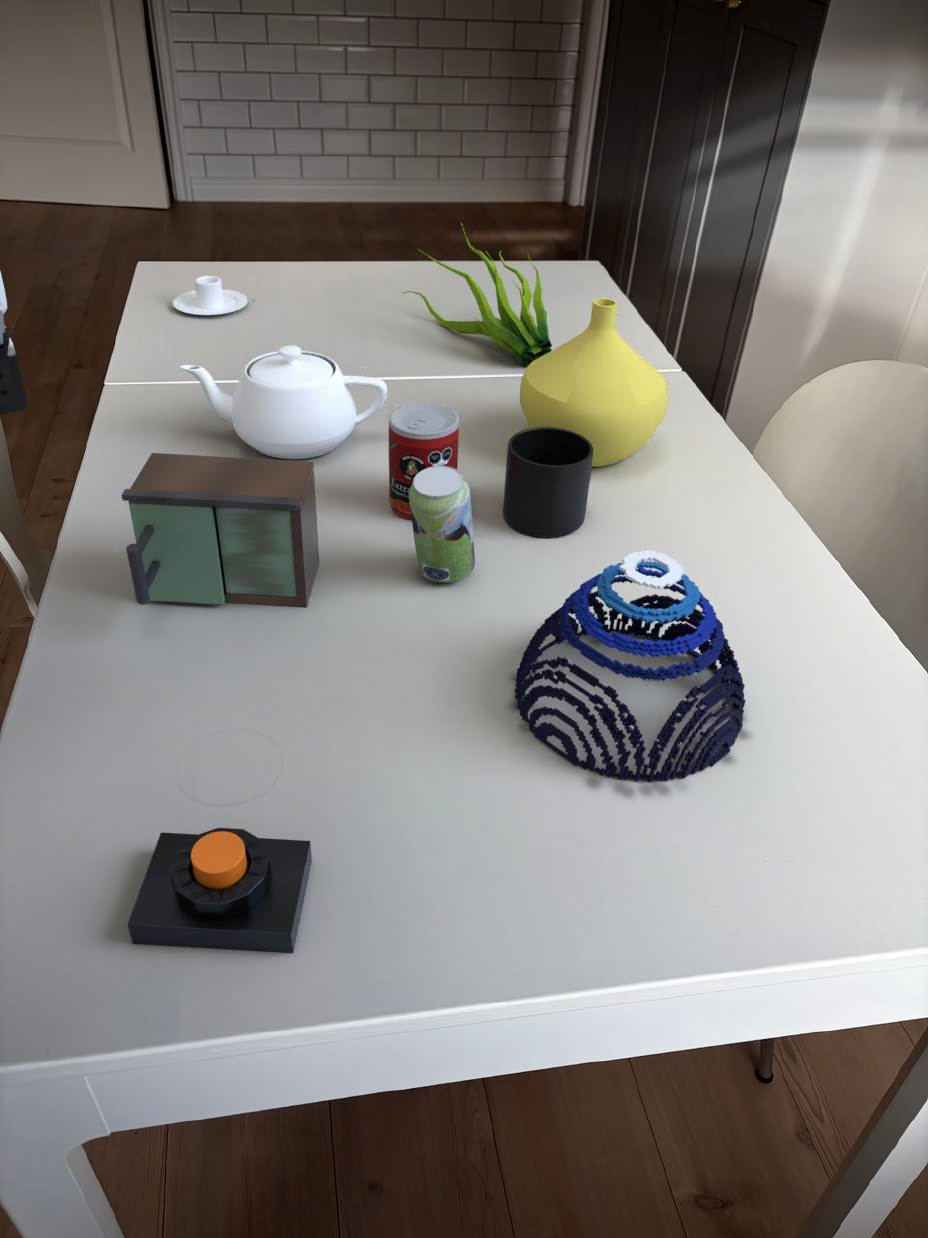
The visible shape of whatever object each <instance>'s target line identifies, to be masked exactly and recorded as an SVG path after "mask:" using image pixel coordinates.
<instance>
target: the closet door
mask: <svg viewBox="0 0 928 1238" xmlns="http://www.w3.org/2000/svg"><path fill="white" fill-rule="evenodd" d="M128 507H129V512H130V518H131V524H132V528H133V533H134V538H135V543H131V544H128V545H126V546H125V550H126V554H127V561H128V565H129V571H130V576H131V579H132V580H131V581H132V587H133V590H134V596H135V600H136V603H137V604H138V605H140V606H141V605H143V606H144V605H147V604H149V603H150V602H151V601H154V602H171V603H187V604H188V603H189V604H207V605H225V597H224V589H223V581H222V574H221V566H220V559H219V551H218V543H217V536H216V528H215V521H214V513H213V506H212V505H195V504H177V503H159V502H141V501H130V502H128Z"/></svg>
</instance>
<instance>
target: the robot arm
mask: <svg viewBox="0 0 928 1238" xmlns="http://www.w3.org/2000/svg"><path fill="white" fill-rule="evenodd" d="M7 310H8V301H7V296H6V289H5V286H4V282H3V277H2V272H1V271H0V416H4V415H9V414H13V413H16V412H21V411H24V410H26V409H28V407H29V401H28V396H27V393H26V388H25V385H24V381H23V377H22V372H21V368H20V364H19V361H18V357H17V353H16V350H15V346H14V343H13V340H12V339H11V337H12V336H11V334H9V332H10V330H9V328H7V326H6V325H5V317H4V316H5V313H6V312H7Z"/></svg>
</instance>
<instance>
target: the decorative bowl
mask: <svg viewBox="0 0 928 1238" xmlns="http://www.w3.org/2000/svg"><path fill="white" fill-rule="evenodd" d="M652 569H654V570H652ZM655 569H656V570H655ZM626 582H628V583H630V584H633V583H634V584H636V585H638V586H640V587H642V586H645V588H653V589H654V590H657V589H659V590H662V589H664V590H667V589H668V590H670V591H671V592H673V593H679V594H681V595H683V596H684V597H682V598H681V599H679V598H673V597H672V596H670V595H658V594H656V593H655V594H652V595H649V594H646V595H644V596H641V597H638V598H636V599H633V600H631V601H629V603H628V602H626V601H625V600H624V598H623V597H622V596H619V592H617V591H615V590H613V585H614V584H616V583H617V584H619V583H622V584H625V583H626ZM594 588H597V589H596V591H594V592H592V590H593V589H594ZM597 598H599V599H600V600H601V601H600V600H599V599H597ZM604 606H605V607H607V608H608V609H609V611H606V610H605V609H603V608H604ZM697 606H699V607H700V609H701V610H699V609H697ZM591 608H592V610H593V612H591V610H590V609H591ZM570 614H571V615H570ZM572 615H574V617H575V618H574V617H572ZM607 615H608V616H607ZM618 615H621V618H620V617H619V616H618ZM577 621H578V622H577ZM606 621H609V622H610V623H609V624H608V623H606ZM615 621H616V624H615ZM629 621H631V624H629ZM643 622H644V623H643ZM674 622H676V623H674ZM652 624H654V625H653V627H652V628H651V626H652ZM666 624H670V625H669V626H667V628H666V629H664V632H663V633H662V634H661V636H660V631H661V628H663V627H664V625H666ZM626 626H627V629H626ZM614 627H615V628H614ZM579 628H580V629H581V630H580V631H579ZM533 634H534V635H532V637H531V639H530V640H529V643H528V644H527V645H526V649H525V650H524V652H523V653H522V657H521V660H520V662H519V667H518V668H516V677H515V678H514V679H515V689H514V691H513V692H514V693H515V695H514V698H515V699H516V706H517V707H516V708H517V709H519V716H521V720H522V721H524V722H525V723H526V724H528V731H530V732H531V733H532V734H533V737H534V738H535V739H537V740H538V741H539V742H541V743H542V744H544V745H545V746H546V747H548V748H549V749H550V750H552V751H554V752H555V753H556V754H558V755H559V756H561V757H562V758H563V759H564V760H566V761H567V762H569V763H570V764H572V765H573V766H575V767H578V766H579V767H580V768H581V769H583V770H584V771H586V770H589V771H590V772H592V773H593V772H595V773H598V775H600V776H604V775H605V776H606V777H607V778H610V777H611V778H615V777H616V778H617V779H619V780H620V781H621V780H624V781H625V780H629V781H631V780H633V781H634V782H636V783H637V782H639V781H640V780H642V781H643V782H644V781H645V780H646V781H648V782H649V783H652V782H653V781H656V782H658V781H661V782H663V781H665V782H667V781H669V780H672V781H673V780H674V779H676V778H677V779H683V780H684V779H685V778H687V777H688V776H690V774H693V775H695V774H697V772H699V771H701V772H703V771H705V770H706V768H708V767H709V766H710V767H714V766H715V765H716V764H717V763H719V761H721V760H722V759H723V758H724V757H726V756H727V755H728V754H729V753H730V752H731V748H732V747H733V746H734V744H735V743H736V740H737V738H738V735H739V733H740V732H741V731H742V729H743V725H744V723H743V721H744V712H745V709H744V707H745V704H746V699H745V693H744V689H745V686H746V685H745V683H744V681H743V677H742V673H741V672H740V667H739V663H738V660H737V659H735V651H734V650H733V649H731V646H730V645H729V644H730V643H729V639H727V638H726V635H725V634H724V626H723V623H722V622H721V620H720V619H718V617H717V612H715V609H714V606H713V604H711V602H710V600H709V599H708V598H706V597H705V596H704V594H703V593H702V592H701V591H700V589H699V586H698V585H696V582H694V581H693V580H690V577H689V576H688V575H687V574H685V568H684V566H683V565H681V564H680V563H678V560H676V559H674V558H673V557H671V556H668V555H666V554H664V553H663V552H660V553H658V552H657V551H655V550H653V549H651V550H649V549H646V550H645V551H642V550H640V551H637V552H636V551H633V552H631V553H630V554H628V555H626V556H625V557H623V558H621V562H618V563H616V564H615V565H613V564H610V565H608V566H606V567H605V568H603V571H602V572H601V573H598V574H597V575H595V576H593V577H591V578H589V579H588V580H586V581H585V582H583V583H581V584H580V585H579V588H578V589H576V590H575V591H573V592H571V593H570V595H569V596H568V597H566V598H565V600H564V602H563V604H562V606H560V607H559V608H558V609H557V610H555V611H554V612H553V613H551V614H550V616H549V617H546V618H545V619H544V622H543V623H542V624H541V626H540V627H539V628H537V629H536V631H535V632H534V633H533ZM582 635H584V636H586V635H587V636H590V637H592V638H593V639H595V640H597V641H598V642H600V643H602V644H603V645H605V646H606V647H608V648H609V649H613V648H614V649H616V650H617V651H618V652H621V653H622V652H625V653H627V654H633V655H635V656H638V655H639V656H641V657H642V658H645V657H647V656H650V657H651V658H653V659H654V658H657V659H658V658H660V657H661V656H662V657H664V658H665V657H669V658H670V657H671V656H673V655H674V656H678V655H679V654H681V655H684V654H688V655H689V656H691V657H692V658H694V659H693V662H690V661H689V660H687V661H685V662H684V663H683V662H682V661H680V662H679V663H678V664H676V663H673V664H671V665H670V666H668V667H667V668H665V667H664V666H662V665H660V666H658V667H657V668H655V669H654V668H652V667H651V666H648V667H647V668H646V669H645V668H644V667H642V666H640V665H639V664H637V665H634V664H633V663H631V662H629V663H627V662H624V663H622V662H621V661H619V660H617V659H614V660H613V659H612V658H609V657H608V656H606V655H604V654H603V653H602V652H600V651H598V650H597V649H595V648H593V647H592V646H590V645H588V644H587V643H585V642H584V641H582V640H581V636H582ZM628 635H630V636H631V635H633V636H636V637H638V636H639V637H642V636H643V637H645V639H643V640H642V641H640V640H639V639H638V638H636V637H633V636H632V637H629V636H628ZM550 636H553V637H555V638H554V639H553V640H552V641H550V642H548V643H547V644H546V645H544V646H542V645H543V644H544V642H545V641H546V639H547V638H548V637H550ZM646 638H649V640H648V639H646ZM565 641H567V644H568V645H569V646H571V647H573V648H574V649H576V650H577V651H579V653H580V655H581V656H582V657H584V658H586V659H588V660H589V661H590V662H592V663H594V664H595V665H597V666H599V667H600V668H602V669H604V668H606V669H608V670H609V671H611V672H613V673H614V674H616V675H618V676H619V675H622V676H623V677H625V678H627V679H629V678H631V679H634V678H635V679H639V678H640V679H641V680H643V681H646V680H647V681H651V680H652V681H658V682H659V681H662V682H664V681H666V680H670V681H671V680H674V681H676V680H677V679H679V678H680V677H682V678H685V677H687V676H689V677H691V676H693V675H694V674H695V673H697V674H700V673H702V672H703V671H704V670H705V669H707V668H708V669H710V670H712V671H713V675H712V676H711V677H710V678H709V679H707V680H706V681H705V682H703V683H702V684H701V685H700V686H697V685H695V686H693V687H692V688H691V689H690V690H689V692H688V693H687V694H685V695H684V699H681V700H680V701H679V702H678V704H677V705H676V707H675V709H674V710H672V712H671V714H670V715H669V716H668V718H667V719H666V722H665V723H664V725H663V726H662V727H661V729H660V730H659V731H658V734H657V735H656V740H654V741H653V744H652V746H651V747H650V750H649V753H647V756H646V757H647V758H648V759H649V761H648V764H647V763H646V762H645V761H646V758H645V757H644V752H646V750H647V747H646V746H645V740H644V739H642V738H643V737H644V735H643V734H642V733H641V732H642V731H641V730H640V729H639V726H638V725H637V722H638V720H637V719H636V718H635V717H636V716H635V715H634V714H633V713H631V710H630V709H629V708H628V707H629V706H628V705H627V704H625V703H624V702H622V701H621V700H619V699H617V698H619V694H618V693H617V689H615V688H613V687H612V686H611V685H607V686H606V685H604V684H603V683H601V682H600V679H599V678H598V677H596V676H594V675H593V674H591V673H590V672H588V671H587V670H585V669H583V668H582V667H580V666H579V665H577V664H576V663H573V664H571V663H570V662H569V661H570V660H569V659H568V658H566V657H565V656H563V657H560V656H557V657H556V659H555V658H553V659H550V660H549V659H547V658H546V659H543V660H540V661H538V658H539V657H541V656H543V653H544V652H545V651H546V650H548V649H550V648H551V647H553V646H555V645H556V644H559V645H560V644H562V643H563V642H565ZM696 649H698V651H699V652H698V651H696ZM537 661H538V662H537ZM717 661H718V664H719V665H720V667H719V666H718V665H717ZM545 666H548V667H549V668H548V669H545V670H542V669H544V667H545ZM560 667H561V668H564V669H565V668H567V669H569V673H571V674H573V675H574V676H576V677H577V678H579V679H580V680H582V681H583V682H585V683H586V684H588V685H589V686H591V687H592V688H596V687H597V688H599V689H600V690H602V691H603V694H604V695H605V696H607V697H608V698H610V701H611V702H612V703H613V704H615V707H616V708H617V712H618V713H617V717H618V718H619V721H620V722H621V725H622V726H623V729H624V730H625V731H626V732H625V733H626V734H625V733H624V730H623V729H620V727H618V724H617V723H616V722H618V718H617V717H616V711H615V710H613V709H611V708H610V707H609V704H608V703H607V702H605V701H604V697H602V696H600V695H599V694H597V693H595V694H593V693H591V692H589V691H588V690H586V689H585V688H583V686H580V685H579V684H578V683H575V682H574V681H573V680H571V679H569V678H568V677H567V674H566V673H564V672H563V671H562V670H560V669H559V668H560ZM550 668H551V669H550ZM556 669H559V670H556ZM539 670H542V671H541V672H539ZM554 670H555V671H554ZM537 671H538V672H537ZM555 677H556V678H555ZM543 679H544V680H545V681H547V680H549V681H551V682H552V683H553V684H555V685H559V684H560V683H562V684H563V685H565V684H567V685H568V686H570V687H571V688H573V689H575V690H576V691H578V692H579V693H581V694H582V695H584V696H585V697H587V698H588V701H589V702H591V703H592V704H594V706H593V710H594V711H595V712H597V714H598V716H599V718H600V719H599V720H601V721H602V724H603V725H605V726H607V727H606V728H607V730H608V731H609V734H610V735H611V738H612V739H613V742H614V743H616V744H615V747H614V748H615V749H616V750H617V751H616V755H618V761H617V766H616V762H615V761H612V760H613V759H614V756H613V755H612V754H611V755H610V753H611V752H610V750H608V747H609V745H608V744H607V741H606V740H605V739H604V736H602V734H603V733H602V732H601V731H600V728H599V727H598V724H596V723H597V722H598V719H597V718H596V715H595V714H594V713H592V714H590V713H591V709H590V708H588V707H587V704H586V703H585V702H584V701H582V700H581V699H579V698H578V697H576V696H575V695H574V694H573V693H570V692H569V691H567V690H566V689H564V688H563V687H560V688H559V687H557V686H556V687H555V686H554V687H553V686H551V684H547V685H542V684H540V685H536V686H533V685H534V683H535V682H537V681H540V680H543ZM531 686H533V687H531ZM530 687H531V689H530V690H529V688H530ZM528 690H529V691H528ZM526 691H528V692H527V693H526ZM700 694H703V695H704V696H703V697H701V698H700V699H699V697H698V696H700ZM543 697H547V698H548V699H549V698H552V699H553V700H554V699H555V698H556V699H557V700H558V701H560V702H562V701H564V702H565V703H567V704H569V705H570V706H572V707H576V708H575V712H577V713H578V714H579V715H580V716H582V719H583V720H585V721H586V722H587V724H586V725H588V726H590V727H591V729H590V731H589V735H590V736H591V738H592V739H593V743H595V747H597V748H600V750H602V752H601V753H599V757H600V758H601V759H602V760H601V764H603V765H605V766H604V768H603V767H601V768H599V766H596V764H597V758H596V757H595V754H593V748H592V747H591V744H590V743H589V740H588V739H587V736H586V735H585V732H584V731H583V730H581V729H580V726H579V725H578V722H577V721H576V720H574V719H573V718H571V717H570V716H568V715H566V714H565V712H562V711H561V710H560V709H558V708H556V707H555V708H553V707H551V706H550V707H547V706H541V707H539V708H538V707H537V708H535V709H533V710H532V712H530V709H531V708H533V706H534V705H536V703H537V702H539V699H541V698H543ZM691 698H692V699H691ZM724 698H725V700H724ZM689 699H691V700H689ZM722 700H724V701H722ZM721 701H722V702H721ZM720 702H721V704H720V706H721V707H720V708H718V709H717V710H716V711H715V712H714V713H713V712H712V711H711V712H709V711H710V710H711V709H712V708H713V707H714V706H716V705H717V704H718V703H720ZM730 705H731V707H732V708H730V709H729V710H728V711H727V712H725V711H726V710H727V708H728V706H730ZM600 706H601V707H600ZM702 706H704V707H703V708H701V707H702ZM693 708H696V710H695V711H693V714H692V717H690V718H689V719H688V720H687V721H688V722H687V723H685V724H684V726H683V728H681V731H680V732H679V734H678V735H677V736H676V739H675V740H674V741H673V745H672V746H671V747H670V751H669V752H668V753H667V757H666V758H665V759H664V764H663V765H661V769H660V771H659V770H658V765H659V764H660V763H661V759H662V754H661V753H664V752H665V749H666V748H667V747H668V743H669V742H670V741H671V738H673V736H674V732H676V727H675V726H676V724H677V725H679V724H681V723H682V722H683V720H684V719H685V718H686V715H687V714H688V713H690V712H691V711H692V709H693ZM529 712H530V713H529ZM626 714H627V715H626ZM678 714H679V715H678ZM549 715H550V717H554V716H555V717H556V718H558V719H559V720H561V721H562V722H563V723H565V724H567V726H569V727H571V729H574V730H573V731H574V732H575V733H576V736H577V737H578V740H579V741H580V742H581V743H582V748H583V749H584V752H585V753H586V759H585V760H584V759H581V760H580V758H579V756H578V751H579V750H578V748H576V746H577V745H576V744H574V741H573V740H572V736H570V735H569V734H567V733H566V732H565V731H563V730H562V729H560V728H558V727H557V726H556V725H554V724H553V723H551V722H546V721H543V722H540V723H539V725H537V721H539V719H540V718H541V717H542V716H544V717H546V716H549ZM713 717H714V718H716V720H715V721H714V722H713V723H712V724H710V725H709V726H708V727H707V728H706V730H705V731H703V730H702V729H703V727H704V726H705V725H706V724H707V723H708V721H709V720H710V719H711V718H713ZM728 718H730V719H728ZM732 718H734V720H731V719H732ZM726 719H728V720H727V721H726V722H725V723H723V721H725V720H726ZM721 723H723V724H722V725H720V724H721ZM536 725H537V726H536ZM719 725H720V726H719ZM631 726H632V727H633V728H632V727H631ZM718 726H719V727H718ZM717 727H718V728H717ZM715 728H717V729H716V730H715ZM711 733H712V735H711ZM627 735H629V736H628V737H627V740H629V744H630V745H631V748H632V749H634V750H635V752H634V753H633V757H632V759H633V760H634V766H635V767H636V770H635V773H634V771H633V770H632V769H630V766H629V765H627V764H628V761H629V757H630V756H631V755H632V751H630V750H628V749H627V748H626V742H624V739H626V736H627ZM697 735H699V736H700V737H699V740H697V742H696V744H695V745H694V748H693V749H692V750H690V749H689V747H690V746H691V745H692V743H693V742H694V740H695V738H696V737H697ZM550 737H555V738H556V739H557V740H559V741H560V744H561V745H562V748H563V749H564V751H563V750H561V749H560V748H558V746H555V745H554V744H553V743H552V742H550V741H549V740H548V738H550ZM707 738H708V740H707V741H706V739H707ZM686 740H688V741H687V742H686ZM705 742H706V743H705ZM704 743H705V744H704ZM681 744H684V745H683V747H682V748H681V747H680V745H681ZM720 746H721V747H722V748H721V749H720V750H719V747H720ZM699 751H700V752H699ZM660 752H661V753H660ZM697 754H698V756H697ZM619 756H620V757H619ZM696 756H697V758H696ZM676 759H677V761H676ZM672 760H673V761H672ZM674 761H676V762H674ZM683 761H684V762H683ZM693 761H695V762H694V766H693ZM618 766H619V770H618ZM692 766H693V767H692ZM648 769H649V770H650V771H649V774H647V773H648ZM679 769H680V770H679ZM617 771H618V772H617Z"/></svg>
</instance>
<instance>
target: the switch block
mask: <svg viewBox="0 0 928 1238" xmlns="http://www.w3.org/2000/svg"><path fill="white" fill-rule="evenodd" d="M220 831H225V832H230V833H233V834H235V835H237V836H238V837H239V838H241V840H242V841H243V843H244V846H245V852H246V859H247V869H246V872H245V874H244V875H243V877H242V878H241V879H240V880H239V881H238V882H237V883H235V884H233V885H232V886H229V887H226V888H222V889H211V888H207V887H204V886H203V885H201V884H200V883H199V882H198V881H197V880H196V878H195V876H194V871H193V866H192V861H191V851H192V849H193V847H194V845H195V844H196V842H197V841H198V840H200V839H201V838H202V837H204V836H206V835H208V834H210V833H213V832H220ZM312 861H313V856H312V845H311V841H310V840H301V839H285V838H266V837H257V836H256V835H255V834H252V833H251V832H249V831H247V830H245V829H244V828H231V827H216V828H213V829H210V830H207V831H205V832H202V833H198V834H196V833H180V832H178V833H177V832H164V831H163V832H162V831H161V832H160V833H159V836H158V840H157V842H156V845H155V848H154V850H153V853H152V856H151V858H150V861H149V864H148V867H147V869H146V872H145V875H144V878H143V881H142V883H141V886H140V889H139V892H138V894H137V897H136V900H135V903H134V905H133V908H132V910H131V913H130V917H129V920H128V922H127V930H128V932H129V936H130V940H131V942H132V943H131V944H132V945H140V946H141V945H144V946H159V947H160V946H161V947H175V948H177V947H178V948H194V949H196V948H197V949H211V950H212V949H213V950H229V951H246V952H247V951H248V952H264V953H278V954H279V953H280V954H293V953H294V950H295V945H296V940H297V936H298V931H299V927H300V926H299V925H300V922H301V916H302V913H303V912H302V911H303V906H304V901H305V897H306V891H307V886H308V881H309V876H310V872H311V866H312Z"/></svg>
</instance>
